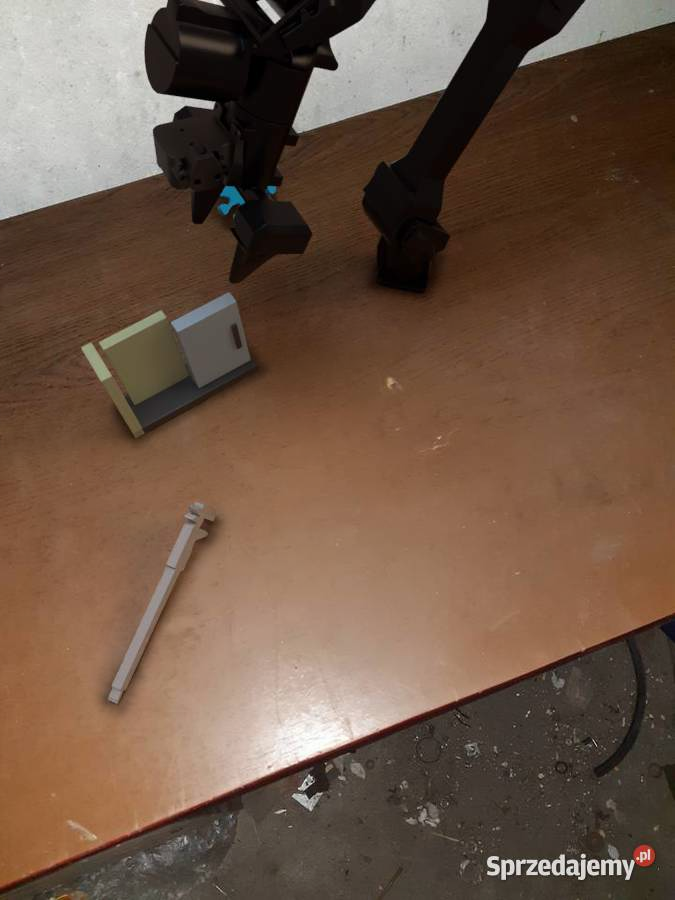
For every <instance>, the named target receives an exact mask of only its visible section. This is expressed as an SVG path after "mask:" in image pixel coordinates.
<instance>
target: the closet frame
mask: <svg viewBox="0 0 675 900" xmlns="http://www.w3.org/2000/svg"><path fill="white" fill-rule="evenodd" d="M98 344H99V346H100V347H101V349H102V351H103V353H104V355H105V356H106V358H107V360H108V362H109V364H110V365H111V367H112V369H113V370H114V372H115V374H116V376H117V377H118V379H119V381H120V383H121V384H122V386H123V388H124V390H125V392H126V393H127V395H125V396H124V394H123V392H122V390H121V389H120V387H119V385H118V384H117V382H116V380H115V378H114V377H113V375H112V373H111V372H110V370H109V369H108V367H107V365H106V364H105V361H104V360H103V358H102V357H101V355H100V354H99V352H98V350H97V349H96V347H95V346H94V344H93V343H92V342H89V343H87V344H85V345H83V346H81V347H80V349H81V350H82V353H83V354H84V356H85V358H86V359H87V361H88V363H89V364H90V366H91V368H92V369H93V371H94V373H95V374H96V376H97V377H98V379H99V381H100V382H101V385H102V386H103V387H104V389H105V390H106V393H107V394H108V395H109V397H110V399H111V401H112V402H113V404H114V405H115V407H116V409H117V411H118V412H119V414H120V415H121V417H122V418H123V420H124V421H125V423H126V425H127V426H128V428H129V430H130V431H131V433H132V436H134V438H135V439H137V438H139V437H141V436H143V435H145V434H146V433H149V432H150V431H152V430H153V429H155V428H158V427H159V426H161V425H162V424H165V423H166V422H168V421H170V420H172V419H173V418H175V417H177V416H179V415H181V414H183V413H185V412H186V411H188V410H190V409H192V408H194V407H195V406H197V405H199V404H200V403H203V402H204V401H207V400H208V399H209V398H211V397H213V396H215V395H217V394H219V393H220V392H222V391H224V390H226V389H228V388H230V387H231V386H233V385H235V384H237V383H238V382H240V381H242V380H244V379H246V378H248V377H249V376H251V375H252V374H253V375H254V374H255V373H257V372H259V370H260V369H259V364H258V363H257V362H256V360H255V359H254V358H253V356H252V355H251V354H250V353H249V356H250V361H248V362H246V363H245V364H243V365H241V366H239V367H237V368H235V369H234V370H232V371H230V372H228V373H226V374H224V375H223V376H221V377H219V378H217V379H215V380H214V381H212V382H210V383H208V384H206V385H204V386H203V387H201V388H198V387H197V385H196V384H195V382H194V381H193V379H192V376H191V374H190V371H189V369H188V366H187V364H186V361H185V359H184V356H183V354H182V351H181V349H180V346H179V344H178V341H177V339H176V336H175V334H174V331H173V328H172V326H171V323H170V322H169V320H168V317H167V315H166V314H165V313H164V311H163V310H162V309H161V310H158V311H157V312H154V313H153V314H151V315H149V316H147V317H145V318H143V319H141V320H139V321H137V322H135V323H133V324H131V325H129V326H127V327H125V328H124V329H121V330H119V331H117V332H116V333H113V334H111V335H109V336H107V337H106V338H104V339H102V340H100V341H98Z"/></svg>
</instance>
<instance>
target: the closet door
mask: <svg viewBox="0 0 675 900" xmlns="http://www.w3.org/2000/svg"><path fill="white" fill-rule="evenodd" d="M170 326H171V329H172V331H173V334H174V337H175V339H176V342H177V344H178V347H179V349H180V352H181V354H182V357H183V360H184V362H185V364H187V366H188V369H189V371H190V374H191V376H192V379H193V381H194V382H195V384H196V385H197V387H198V388H201V387H203V386H204V385H206V384H208V383H210V382H212V381H214V380H215V379H217V378H219V377H221V376H223V375H224V374H226V373H228V372H230V371H232V370H234V369H235V368H237V367H239V366H241V365H243V364H245V363H246V362H248V361H250V356H249V354H250V352H249V348H248V344H247V340H246V335H245V330H244V328H243V323H242V319H241V316H240V311H239V307H238V302H237V300H236V299H235V298H234V296H233V295H232V294H231V292H229V291H228V292H226V293H224V294H222V295H220V296H219V297H216V298H215V299H213V300H210V301H209V302H207V303H205V304H203V305H201V306H199V307H196V308H195V309H193V310H192V311H189V312H187V313H185V314H184V315H181V316H180V317H178V318H176V319H174V320H172V321H170Z"/></svg>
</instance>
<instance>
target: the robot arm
mask: <svg viewBox="0 0 675 900" xmlns="http://www.w3.org/2000/svg"><path fill="white" fill-rule="evenodd" d="M259 1H261V0H219V2H220V3H221V4H222V5H221V4H217V3H213V2H209V1H204V0H167V1H166V6H164V7H160V8H159V9H158V10H156V12H155V13H154V15H153V17H152V19H151V21H150V23H147V26H146V30H145V36H144V48H143V49H144V51H143V53H144V64H145V65H144V66H145V73H146V77H147V80H148V83H149V86H150V87H151V90H153V92H155V93H156V94H159V95H165V96H171V97H179V98H186V99H193V100H198V101H199V100H200V101H205V102H206V101H207V102H213V103H214V105H213V108H207V107H198V106H192V105H184V106H183V107H181V108H179V110H177V111H176V112H174V114H173V118H172V121H168V122H164V123H160V124H157V125H155V126H154V127H153V129H152V137H153V143H154V150H155V151H154V153H155V158H156V164H157V166H158V168H159V169H161V171H162V173H163V174H164V175H165V178H166V180H167V183H168V184H169V186H170V187H171V188H173V189H175V190H180V191H181V190H183V191H184V190H187V189H190V207H191V208H190V210H191V222H192V224H194V225H202V224H204V222H205V221H206V220H207V218H208V216H209V215H210V214H211V212H212V211H213V208H214V207H215V205H216V203H217V202H218V201H219V198H221V197H220V195H221V193H222V191H223V190H224V188H225V186H231V187H235V188H236V190H237V191H238V193H239V194H240V196H241V197H242V199H243V200H244V202H245V203H244V204H242V205H241V206H238V207H237V208H236V210H235V213H234V214H235V216H234V219H233V225H234V226H230V227H229V231H230V232H231V234H232V235H233V237H234V239H235V240H236V242H237V243H236V247H235V251H234V254H233V257H232V261H231V267H230V269H229V276H228V282H229V284H231V285H236V284H238V285H239V284H240V283H242V282H243V281H244V280H245V279H247V278H248V277H249V276H251V275H252V274H253V273H254V272H255V271H257V270H258V269H259V268H261V267H262V266H263V265H264V264H266V263H267V262H269V261H270V260H272V259H273V258H275V257H276V256H278V255H304V253H305V252H306V250H307V249H308V246H309V243H310V241H311V239H312V236H313V232H312V230H311V228H310V226H309V224H308V223H307V222H306V220H305V219H304V217H303V216H302V214H301V213H300V212H299V210H298V208H297V207H296V206H295V205H294V203H293V202H292V201H290V200H289V201H286V200H274V199H273V198H272V197H271V195H269V194H268V192H267V191H266V189H267V187H268V186H276V188H278V187H279V188H280V187H281V186H282V183H283V180H284V178H285V177H284V175H283V174H282V173H281V171H280V169H278V167H279V163H280V161H281V158H282V155H283V153H284V150H285V147H286V146H287V147H296V146H297V144H298V141H299V138H300V135H299V133H298V132H297V130H296V129H295V128H294V127H293V125H294V123H295V121H296V117H297V115H298V111H299V110H300V107H301V104H302V101H303V99H304V96H305V94H306V90H307V88H308V85H309V83H310V80H311V77H312V75H313V72H314V70H315V69H316V68H317V69H321V70H326V71H331V72H335V71H337V70H338V68H339V62H338V61H337V60H338V59H337V58H336V56H335V53H334V52H333V49H332V46H331V39H332V38H333V37H335V36H337V35H339V34H341V33H342V32H344V31H346V30H348V29H349V28H352V27H353V26H354V25H357V24H358V23H359V22H361V21H362V20H363V19H364V18H365V16H366V15H367V14H368V12H369V11H370V9H371V8H372V7H373V5H374V4H375V3H376V2H377V0H264V1H265V2H266V4H268V6H269V7H270V8H271V9H272V11H274V12H275V14H276V15H277V16H278V17H279V18H280V19H278V20H277V21H276V22H274V21H273V19H272V18H271V17H270V16H269V15H268V14H267V12H266V11H265V10H264V9H263V8H262V7H261V5H260V4H259V3H258V2H259ZM585 2H586V0H487V9H486V16H485V21H484V23H483V25H482V27H481V28H480V30H479V32H478V34H477V35H476V37H475V39H474V41H473V42H472V44H471V45H470V47H469V49H468V50H467V52H466V55H465V56H464V57H463V59H462V60H461V63H460V64H459V66H458V67H457V69H456V71H455V72H454V74H453V76H452V77H451V79H450V81H449V83H448V84H447V86H446V88H444V89H445V90H444V91H443V93H442V95H441V96H440V98H439V99H438V101H437V103H436V105H435V106H434V108H433V110H432V111H431V113H430V114H429V116H428V118H427V120H426V121H425V123H424V124H423V126H422V128H421V130H420V132H419V133H418V135H417V137H416V139H414V142H413V143H412V145H411V147H410V149H409V150H408V152H407V153H406V154H405V155H404V156H401V157H400V158H398V159H396V160H393V162H391V163H389V162H387V161H384V160H383V161H381V162H379V163H378V164H377V166H376V168H375V171H374V173H373V175H372V177H371V179H370V180H369V182H368V183H367V184H366V185H365V186H364V187H363V188H362V191H363V192H364V195H363V197H362V200H361V206H362V210H363V213H364V215H365V216H366V217H367V218H368V220H369V221H370V222H371V223H372V225H373V226H374V227H375V229H376V230H377V231H378V233H380V236H379V238H378V241H377V244H376V262H375V263H376V268H377V269H378V272H377V275H376V283H377V284H379V285H385V286H388V287H393V288H398V289H404V290H407V291H408V290H409V291H413V292H418V293H426V292H427V290H428V286H429V283H430V279H431V276H432V273H433V270H434V266H435V263H436V259H437V254H438V253H441V252H442V251H444V250H445V249H446V247H447V245H448V244H449V243H448V242H449V240H450V239H451V234H449V232H448V231H447V230H446V229H445V228H444V227H443V225H442V224H441V222H440V221H438V219H439V216H440V214H441V212H442V208H443V199H444V198H443V197H444V191H445V190H444V189H445V181H446V179H447V178H448V176H449V174H450V173H451V171H452V170H453V168H454V167H455V165H456V164H457V162H458V160H459V159H460V157H461V156H462V154H463V153H464V151H465V150H466V148H467V146H468V145H469V144H470V142H471V141H472V139H473V137H474V136H475V134H476V132H477V131H478V130H479V128H480V127H481V125H482V123H483V121H484V120H485V118H486V117H487V116H488V114H489V113H490V111H491V109H492V108H493V107H494V105H495V103H496V102H497V100H498V98H499V97H500V96H501V94H502V92H503V91H504V89H505V88H506V86H507V85H508V83H509V81H510V80H511V78H512V77H513V75H514V74H515V72H516V71H517V69H518V68H519V67H520V64H521V63H522V61H524V59H525V58H526V56H527V54H528V53H529V52H531V51H532V50H534V49H535V48H537V47H538V46H540V45H542V44H544V43H545V42H547V41H549V40H550V39H552V38H554V37H556V36H557V35H559V34H560V33H561V32H562V31H563V30H564V28H565V27H566V26H567V25H568V23H569V22H570V21H571V19H572V18H573V17H574V16H575V14H576V13H577V12H578V11H579V10H580V8H581V7H582V5H584V4H585ZM277 166H278V167H277Z"/></svg>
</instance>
